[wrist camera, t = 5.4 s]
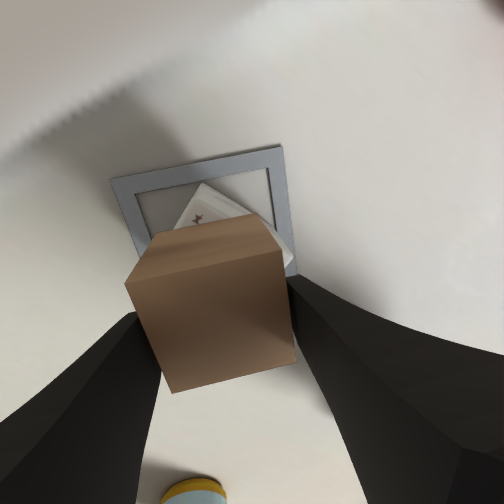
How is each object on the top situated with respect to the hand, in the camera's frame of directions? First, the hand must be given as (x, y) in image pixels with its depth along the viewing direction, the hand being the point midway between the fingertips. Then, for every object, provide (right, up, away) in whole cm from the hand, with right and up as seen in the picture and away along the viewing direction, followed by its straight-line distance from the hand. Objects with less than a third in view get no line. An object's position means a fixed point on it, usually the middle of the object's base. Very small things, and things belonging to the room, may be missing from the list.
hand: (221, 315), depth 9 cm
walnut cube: (0, +2, +3) cm, 3 cm away
